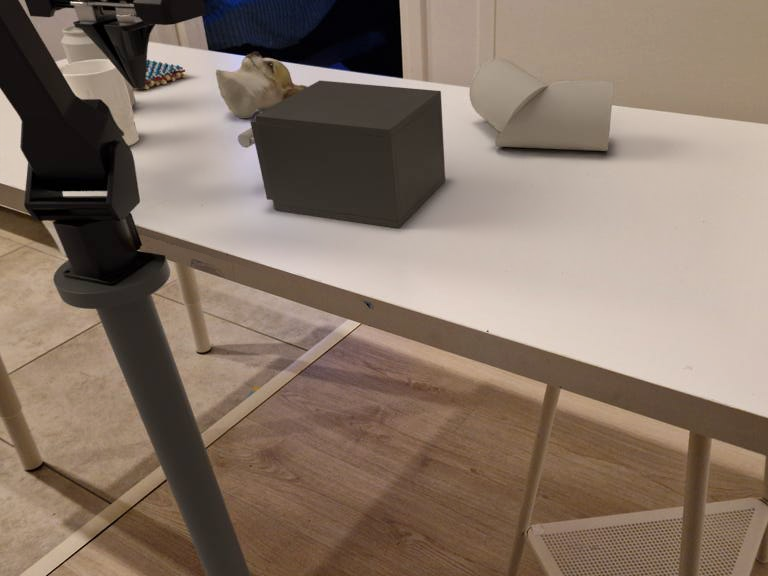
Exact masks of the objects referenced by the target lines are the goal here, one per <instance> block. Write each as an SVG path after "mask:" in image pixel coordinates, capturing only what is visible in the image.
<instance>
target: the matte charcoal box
mask: <svg viewBox="0 0 768 576" xmlns="http://www.w3.org/2000/svg"><path fill="white" fill-rule="evenodd" d="M442 107H443V106H442V91H441V90H435V89H434V90H433V89H424V88H423V89H422V88H411V87H401V86H400V87H399V86H387V85H376V84H365V83H352V82H341V81H331V80H318V81H316V82H314V83H312V84H310V85H308V86H307V88H305V89H303V90H301V91H299V92H297V93H296V94H294V95H292V96H290V97H288V98H286V99H285V100H283V101H281V102H279V103H277V104H275V105H274V106H272V107H270V108H268V109H266V110H262V111H261V112H259V113H257V114H256V115H254V119H256V123H257V128H258V132H259V137H260V142H261V147H262V152H263V156H264V161H265V166H266V171H267V175H268V180H269V185H270V190H271V194H272V199H273V200H272V203H273V207H274V211H277V212H286V213H291V214H300V215H305V216H306V215H307V216H314V217H319V218H326V219H331V220H339V221H346V222H347V221H348V222H352V223H353V222H354V223H359V224H368V225H375V226H381V227H389V228H394V229H400V228H401V227H402V226H403V225H404V224H405V223H406V222H407V221H408V220H409V219H410V218H411V217H412V216H413V215H414V214H415V213H416V212H417V211H418V210H419V209H420V208H421V207H422V206H423V204H425V203H426V201H428V199H429V198H430V197H432V195H433V194H434V193H435V192H436V191H437V190H439V188H440V187H441V186H443V184H444V183H445V182H446V166H445V165H446V164H445V150H444V149H445V145H444V144H445V143H444V127H443V108H442Z"/></svg>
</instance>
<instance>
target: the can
mask: <svg viewBox="0 0 768 576" xmlns="http://www.w3.org/2000/svg"><path fill="white" fill-rule="evenodd" d="M61 32H63V36H62V38H61V40H60V42H61V45H62V49H63V52H64V55H65V57H66V60H67V62H68V63H67V64H70V63H74V62H79V61H85V60H96V59H108V58H107V57H106V55H105V54H104V53H103V52H102V51H101V50H100V49H99V48H98V47H97V45H96V44H95V43H94V42H93V41H92V40H91V39H90V38H89V37H88V36H87V35H86V34H85V33H84V32H83V31H82V30H81V29H80V28H76V27H75V26H74V24H72V25H68V26H65V27H62V29H61ZM125 82H126V86H127V90H128V93H129V97H130V103H131V106H132V107H133V106H134V105H135V103H136V101H137V100H136V97H135V94H134V91H133V90H134V89H132V87H131V85H130V84H129V83H128V82H127V80H126V79H125Z"/></svg>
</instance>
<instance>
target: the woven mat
mask: <svg viewBox="0 0 768 576" xmlns="http://www.w3.org/2000/svg"><path fill="white" fill-rule="evenodd" d="M185 72H186V69H184V67H182V66H180V65H179V64H177V65H174V64H173V63H170V64H168V63H167V62H164V63H163V62H161V61H159V62H157V61H156V60H152V61H151V60H150V59H147V65H146V83H145V87H144V88H143V89H145V90H149V89H150V88H151V87H154V86H155V85H156V86H160V85H167V83H168V82H167V81H171V82H175V81H176V80H178V79H180V78H182V79H186V77H187V75H186V74H185ZM131 87H132V86H131ZM132 90H135V91H137V90H138V89H134V88H132Z"/></svg>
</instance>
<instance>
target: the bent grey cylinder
mask: <svg viewBox="0 0 768 576" xmlns="http://www.w3.org/2000/svg"><path fill="white" fill-rule="evenodd" d="M472 76H473V77H472V79H471V81H470V84H469V101H470V105H471V106H472V108H473V110H474V111H475V112H476V113H477V115H479V117H481V118H482V119H483V120H485V121H486V122H487V123H488V124H489V125H490V126H492V127H493V128H495V130H497V131H498V133H499V135H498V136H497V138H496V139H495V146H496V147H499V148H500V147H503V148H523V149H524V148H526V149H546V150H547V149H548V150H569V151H571V150H572V151H573V150H574V151H592V152H594V151H597V152H608V150H609V149H608V148H609V142H610V141H609V139H610V130H611V120H612V111H613V97H614V86H615V81H614V80H613V81H612V80H611V81H609V80H576V79H575V80H574V79H573V80H572V79H560V80H557V81H555V82H553V83H552V84H550V85H549V84H548V83H546V82H545V81H543V80H542V79H540V78H538V77H536V76H535V75H534V74H532V73H530V72H529V71H527V70H525V69H524V68H523V67H520V66H519V65H517V64H516V63H514V62H513V61H511V60H508V59H505V58H493V59H490V60H488V61H486V62H484V63H483V64H482V65H480V67H478V69H477V70H476V71H475V73H474V75H472Z"/></svg>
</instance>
